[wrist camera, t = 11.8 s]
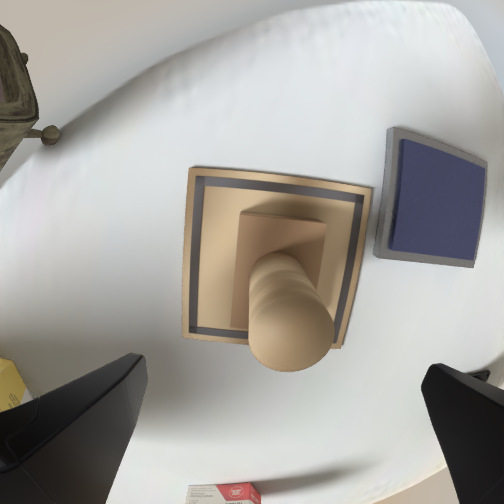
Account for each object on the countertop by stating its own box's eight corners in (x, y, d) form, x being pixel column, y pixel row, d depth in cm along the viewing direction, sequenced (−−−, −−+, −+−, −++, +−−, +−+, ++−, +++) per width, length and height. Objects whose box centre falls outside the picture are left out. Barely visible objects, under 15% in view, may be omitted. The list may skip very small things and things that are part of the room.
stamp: (318, 219, 18) (375, 251, 9) (303, 318, 19) (333, 404, 11) (240, 211, 18) (230, 236, 9) (232, 313, 19) (219, 401, 11)
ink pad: (480, 162, 17) (490, 162, 15) (466, 265, 19) (476, 269, 18) (387, 129, 17) (396, 126, 15) (373, 254, 19) (381, 259, 17)
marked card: (369, 188, 18) (371, 189, 17) (339, 346, 20) (340, 349, 20) (190, 168, 17) (188, 167, 17) (183, 335, 20) (182, 337, 20)
